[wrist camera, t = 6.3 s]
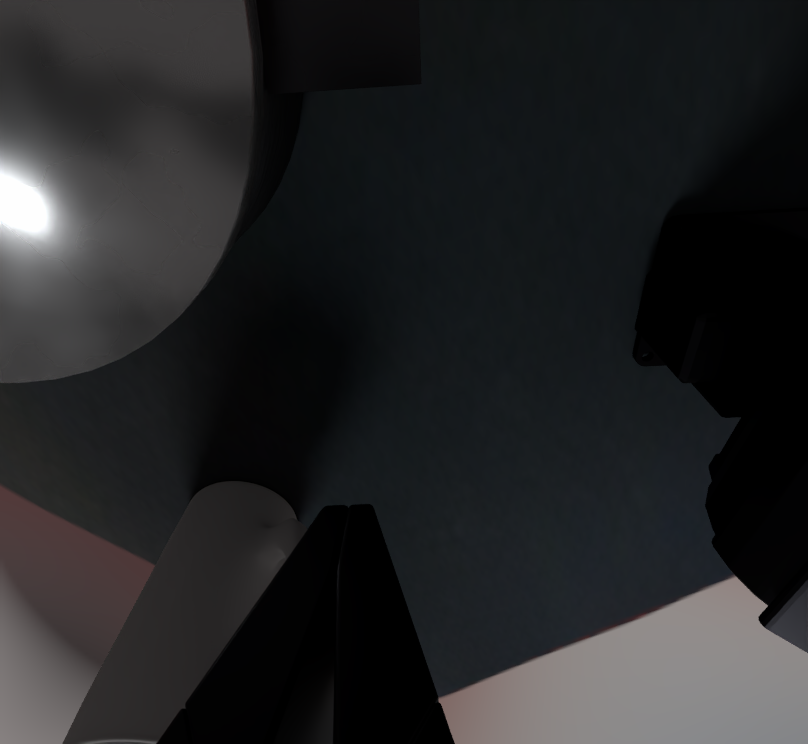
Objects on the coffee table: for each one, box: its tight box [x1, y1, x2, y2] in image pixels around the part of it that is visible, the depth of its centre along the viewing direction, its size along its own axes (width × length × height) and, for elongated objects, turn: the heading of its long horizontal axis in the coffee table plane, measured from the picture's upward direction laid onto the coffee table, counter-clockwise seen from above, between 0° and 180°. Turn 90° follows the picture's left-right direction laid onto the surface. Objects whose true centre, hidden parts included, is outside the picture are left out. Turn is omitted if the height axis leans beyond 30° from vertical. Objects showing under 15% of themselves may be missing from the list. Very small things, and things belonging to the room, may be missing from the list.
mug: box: [63, 481, 307, 744], centre depth 22 cm, size 10×7×12 cm, turn 126°
